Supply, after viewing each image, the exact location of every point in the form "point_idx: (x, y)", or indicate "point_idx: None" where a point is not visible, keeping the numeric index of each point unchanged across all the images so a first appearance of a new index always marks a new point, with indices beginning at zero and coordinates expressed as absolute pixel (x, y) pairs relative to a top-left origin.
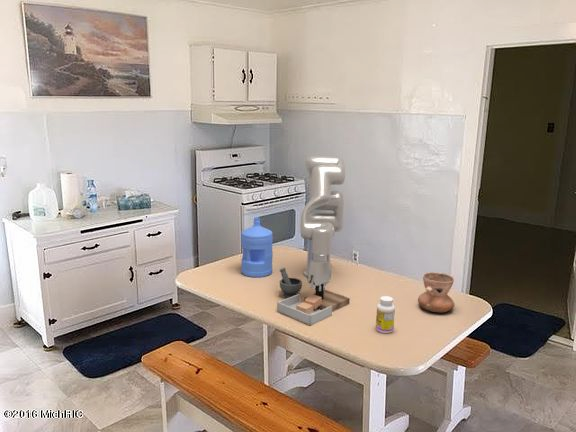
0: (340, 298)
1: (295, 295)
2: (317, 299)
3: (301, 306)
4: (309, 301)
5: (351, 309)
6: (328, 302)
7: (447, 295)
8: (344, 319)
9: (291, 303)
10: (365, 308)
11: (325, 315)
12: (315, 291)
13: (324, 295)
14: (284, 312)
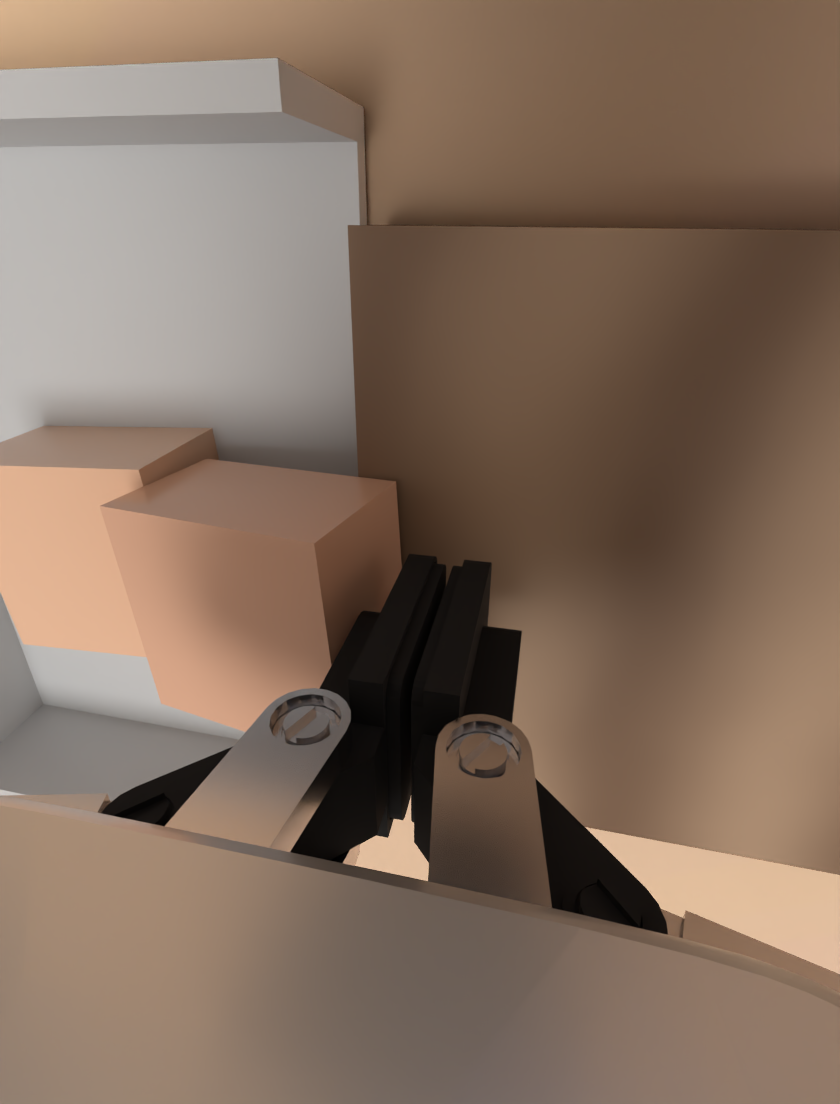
0: (833, 794)
1: (118, 85)
2: (254, 720)
3: (2, 548)
4: (135, 615)
5: (699, 866)
6: (530, 717)
7: None
8: (405, 876)
9: (84, 141)
10: (834, 963)
11: None
12: (369, 636)
13: (815, 513)
14: None
